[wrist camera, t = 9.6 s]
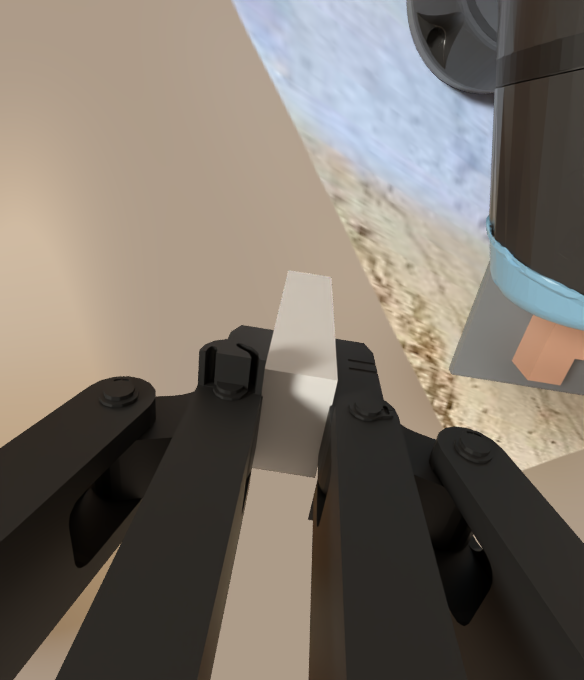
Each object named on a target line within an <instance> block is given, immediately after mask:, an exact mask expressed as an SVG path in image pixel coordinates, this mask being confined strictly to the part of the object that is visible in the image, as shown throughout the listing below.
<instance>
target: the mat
mask: <svg viewBox="0 0 584 680" xmlns="http://www.w3.org/2000/svg"><path fill="white" fill-rule="evenodd" d="M532 316H533V314H531V313H529V312H527V311H525V310H523V309H521V308H520V307H518V306H517V305H515V304H514V303H512V302H511V301H510V300H509V299H507V298H506V297H505V296H504V295H503V294H502V292H501V290H500V289H499V287H498V286H497V285H496V284H495V283H494V281H493V279H492V275H491V272H490V262H489V264H488V267H487V269H486V272H485V275H484V277H483V280H482V283H481V285H480V288H479V291H478V293H477V296H476V298H475V301H474V304H473V306H472V309H471V312H470V314H469V317H468V319H467V322H466V325H465V327H464V330H463V333H462V335H461V338H460V341H459V343H458V346H457V348H456V351H455V354H454V356H453V359H452V362H451V364H450V367H449V370H450V372H451V374H453V375H460V376H466V377H472V378H478V379H484V380H491V381H497V382H503V383H509V384H516V385H522V386H528V387H534V388H541V389H547V390H553V391H559V392H566V393H572V394H578V395H584V360H579V359H574V361H573V363H572V365H571V367H570V369H569V370H568V372H567V374H566V376H565V378H564V380H563V381H562V383H561V385H555V384H549V383H543V382H537V381H530V380H527V379H526V378H525V376H524V375H523V374H522V373H521V371H520V370H519V369H518V368H517V367H516V365H515V364H514V363H513V362H512V359H513V357H514V355H515V353H516V351H517V348H518V346H519V344H520V342H521V340H522V338H523V336H524V333H525V331H526V329H527V327H528V325H529V323H530V320H531V318H532Z"/></svg>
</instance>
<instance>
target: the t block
mask: <svg viewBox="0 0 584 680" xmlns="http://www.w3.org/2000/svg"><path fill="white" fill-rule="evenodd" d="M574 359H579V360H584V331H582V330H578V329H574V328H570V327H566V326H563V325H559V324H556V323H553V322H550V321H547V320H545V319H542V318H540V317H537V316H535V315H533V316H532V318H531V320H530V323H529V325H528V327H527V329H526V331H525V333H524V336H523V338H522V340H521V342H520V344H519V346H518V348H517V351H516V353H515V355H514V357H513V359H512V362H513V363H514V364H515V365H516V367H517V368H518V369H519V370H520V371H521V373H522V374H523V375H524V376H525V378H526V379H527V380H530V381H537V382H543V383H549V384H555V385H561V383H562V381H563V380H564V378H565V376H566V374H567V372H568V370H569V369H570V367H571V365H572V363H573V361H574Z"/></svg>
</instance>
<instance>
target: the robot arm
mask: <svg viewBox="0 0 584 680" xmlns="http://www.w3.org/2000/svg"><path fill="white" fill-rule="evenodd" d="M407 15H408V22H409V27H410V31H411V35H412V38H413V41H414V44H415V46H416V49H417V51H418V53H419V55H420V56H421V58H422V60H423V61H424V63H425V64H426V65H427V67H428V68H429V69H430V70H431V71H432V72H433V73H434V74H435V75H436V76H437V77H438V78H439V79H441V80H442V81H443V82H445V83H446V84H448V85H450V86H452V87H454V88H456V89H459V90H462V91H465V92H470V93H477V94H489V93H495V94H494V117H493V140H492V163H491V186H490V209H489V216H488V217H487V219H486V230H487V235H488V237H489V239H490V272H491V275H492V279H493V281H494V283H495V284H496V285H497V286H498V287H499V289H500V290H501V292H502V294H503V295H504V296H505V297H506V298H507V299H509V300H510V301H511V302H512V303H514V304H515V305H517V306H518V307H520V308H521V309H523V310H525V311H527V312H529V313H531V314H533V315H535V316H537V317H540V318H542V319H545V320H547V321H550V322H553V323H556V324H559V325H563V326H566V327H570V328H574V329H578V330H582V331H584V0H407ZM317 467H318V480H317V484H316V488H315V493H314V497H313V501H312V505H311V510H310V514H309V518H308V519H309V520H313V542H312V578H311V580H312V581H311V613H310V614H311V615H310V652H309V680H584V543H583V542H582V541H581V540H580V538H578V536H577V535H576V534H575V533H574V531H573V530H572V529H571V528H570V527H569V526H568V525H567V523H566V522H565V521H564V520H563V519H562V518H561V517H560V515H559V514H558V513H557V512H556V511H555V509H554V508H553V507H552V506H551V505H550V504H549V502H548V501H547V500H546V499H545V498H544V497H543V496H542V494H541V493H540V492H539V491H538V490H537V489H536V487H535V486H534V485H533V484H532V483H531V482H530V480H529V479H528V478H527V477H526V476H525V475H524V474H523V472H522V471H521V470H520V469H519V468H518V467H517V465H516V464H515V463H514V462H513V461H512V460H511V458H510V457H509V456H508V455H507V454H506V453H505V451H504V450H503V449H502V448H501V447H500V446H498V445H497V444H496V443H495V442H494V441H493V440H491V439H490V438H488V437H486V436H485V435H483V434H481V433H479V432H477V431H474V430H471V429H468V428H462V427H449V428H445V429H443V430H442V431H441V432H439V434H438V436H437V439H436V440H435V439H432V438H429V437H427V436H424V435H422V434H419V433H416V432H414V431H412V430H410V429H407V428H405V427H404V426H402V425H401V424H400V421H399V417H398V415H397V413H396V411H395V409H394V408H393V407H392V406H391V405H390V404H389V403H387V402H386V401H384V400H383V395H382V391H381V386H380V382H379V378H378V374H377V369H376V366H375V360H374V356H373V353H372V352H371V351H370V350H369V349H368V347H367V346H366V345H365V344H364V343H359V342H352V341H346V340H340V339H335V328H334V311H333V295H332V279H331V277H328V276H321V275H315V274H309V273H302V272H297V271H290V270H288V274H287V278H286V283H285V287H284V291H283V295H282V299H281V303H280V307H279V311H278V316H277V320H276V324H275V328H274V330H268V329H263V328H257V327H250V326H243V325H241V326H240V327H238V328H236V329H235V330H233V331H232V332H231V333H230V335H229V337H228V339H225V340H217V341H213V342H211V343H208V344H206V345H204V346H203V347H202V348H201V349H200V351H199V372H198V386H197V388H196V390H195V391H194V392H191V393H188V394H184V395H176V396H159V397H155V389H154V388H153V386H152V385H151V384H150V383H149V382H146V381H144V380H143V379H140V378H135V377H129V376H127V377H124V376H123V377H112V378H109V379H105V380H101V381H99V382H97V383H95V384H93V385H91V386H89V387H88V388H86V389H85V390H83V391H82V392H80V393H79V394H78V395H76V396H75V397H73V398H72V399H70V400H69V401H67V402H66V403H65V404H63V405H62V406H60V407H59V408H57V409H56V410H54V411H53V412H52V413H50V414H49V415H47V416H46V417H44V418H43V419H42V420H40V421H39V422H37V423H36V424H34V425H33V426H31V427H30V428H29V429H27V430H26V431H24V432H23V433H21V434H20V435H19V436H17V437H16V438H14V439H13V440H11V441H10V442H8V443H7V444H6V445H4V446H3V447H2V448H0V680H13V679H14V678H15V677H16V676H17V674H18V673H19V672H20V670H21V669H22V668H23V667H24V665H25V664H26V663H27V661H28V660H29V659H30V658H31V656H32V655H33V654H34V652H35V651H36V650H37V649H38V648H39V646H40V645H41V644H42V642H43V641H44V640H45V639H46V637H47V636H48V635H49V634H50V632H51V631H52V630H53V629H54V627H55V626H56V625H57V623H58V622H59V621H60V620H61V618H62V617H63V616H64V615H65V613H66V612H67V611H68V609H69V608H70V607H71V606H72V604H73V603H74V602H75V601H76V599H77V598H78V597H79V596H80V594H81V593H82V592H83V590H84V589H85V588H86V587H87V585H88V584H89V583H90V582H91V580H92V579H93V578H94V576H95V575H96V574H97V573H98V571H99V570H100V569H101V568H102V566H103V565H104V564H105V563H106V561H107V560H108V559H109V558H110V556H111V555H112V554H113V552H114V551H115V550H116V549H117V547H118V546H119V544H121V545H120V547H119V549H118V551H117V553H116V555H115V557H114V559H113V562H112V564H111V565H110V568H109V570H108V572H107V574H106V576H105V578H104V580H103V582H102V584H101V586H100V588H99V590H98V592H97V594H96V596H95V598H94V601H93V603H92V605H91V607H90V609H89V611H88V613H87V615H86V617H85V619H84V621H83V623H82V625H81V627H80V630H79V632H78V634H77V636H76V638H75V640H74V642H73V644H72V646H71V648H70V650H69V652H68V654H67V656H66V659H65V660H64V663H63V665H62V667H61V669H60V671H59V673H58V675H57V677H56V679H55V680H210V678H211V673H212V668H213V663H214V658H215V653H216V648H217V643H218V638H219V633H220V628H221V623H222V619H223V614H224V608H225V604H226V599H227V594H228V589H229V584H230V579H231V574H232V568H233V564H234V559H235V554H236V549H237V544H238V539H239V534H240V529H241V524H242V519H243V515H244V510H245V505H246V500H247V495H248V490H249V484H250V476H251V469H252V468H256V469H262V470H269V471H275V472H281V473H288V474H294V475H300V476H307V477H313V478H315V476H316V471H317ZM473 534H474V535H475V537H476V539H477V540H478V542H479V543H480V545H481V546H482V548H483V549H482V548H481V547H480V546H479V544H478V543H477V542H476V540H475V538H474V537H473ZM121 542H122V543H121Z"/></svg>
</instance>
